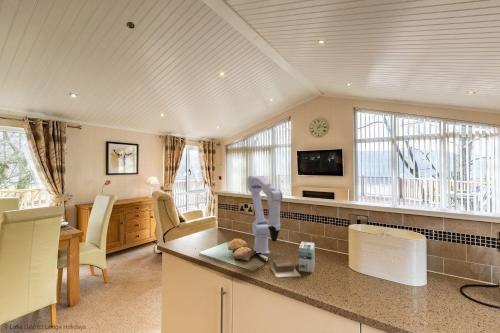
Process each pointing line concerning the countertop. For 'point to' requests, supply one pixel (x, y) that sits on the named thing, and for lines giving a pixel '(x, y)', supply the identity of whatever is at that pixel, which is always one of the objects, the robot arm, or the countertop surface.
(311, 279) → the countertop surface
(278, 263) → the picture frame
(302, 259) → the light bulb box
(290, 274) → the cream mat
